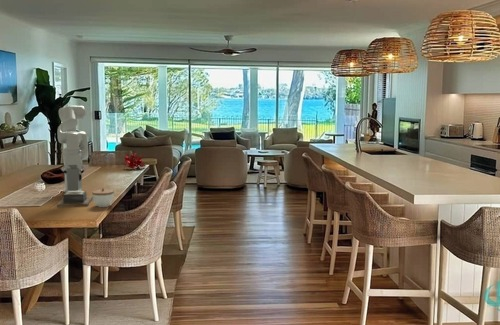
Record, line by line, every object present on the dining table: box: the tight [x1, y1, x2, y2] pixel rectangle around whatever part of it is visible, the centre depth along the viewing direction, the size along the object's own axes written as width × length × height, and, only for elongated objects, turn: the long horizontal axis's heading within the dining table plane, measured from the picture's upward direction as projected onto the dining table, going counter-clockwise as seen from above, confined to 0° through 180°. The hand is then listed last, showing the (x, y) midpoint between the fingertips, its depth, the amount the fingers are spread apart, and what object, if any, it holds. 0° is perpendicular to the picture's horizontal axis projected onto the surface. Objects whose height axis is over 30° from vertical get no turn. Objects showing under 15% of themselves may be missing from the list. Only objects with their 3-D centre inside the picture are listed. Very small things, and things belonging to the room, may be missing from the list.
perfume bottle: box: [67, 165, 83, 190], centre depth 303 cm, size 7×7×18 cm
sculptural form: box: [122, 150, 147, 170], centre depth 453 cm, size 20×24×21 cm
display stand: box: [56, 190, 93, 208], centre depth 305 cm, size 20×18×7 cm
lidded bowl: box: [92, 187, 114, 208], centre depth 298 cm, size 13×13×11 cm
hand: (74, 180), depth 304 cm, fingers closed on perfume bottle, 5 cm apart
